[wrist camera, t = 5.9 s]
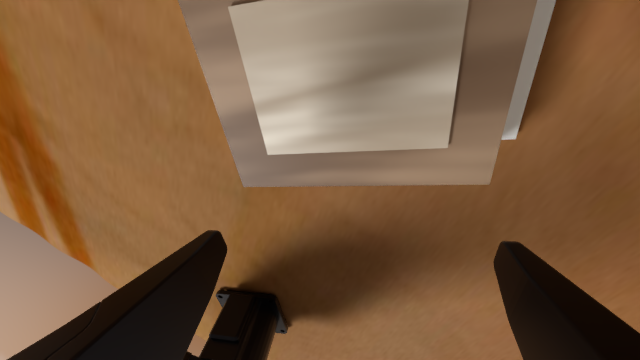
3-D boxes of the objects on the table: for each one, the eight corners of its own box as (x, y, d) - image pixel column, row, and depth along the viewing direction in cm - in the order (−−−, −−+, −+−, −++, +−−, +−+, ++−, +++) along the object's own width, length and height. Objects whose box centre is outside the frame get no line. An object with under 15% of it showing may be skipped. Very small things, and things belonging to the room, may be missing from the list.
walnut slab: (491, 187, 12) (583, -162, 6) (242, 189, 14) (155, -55, 9) (469, 153, 14) (521, -113, 9) (262, 160, 17) (205, -42, 11)
